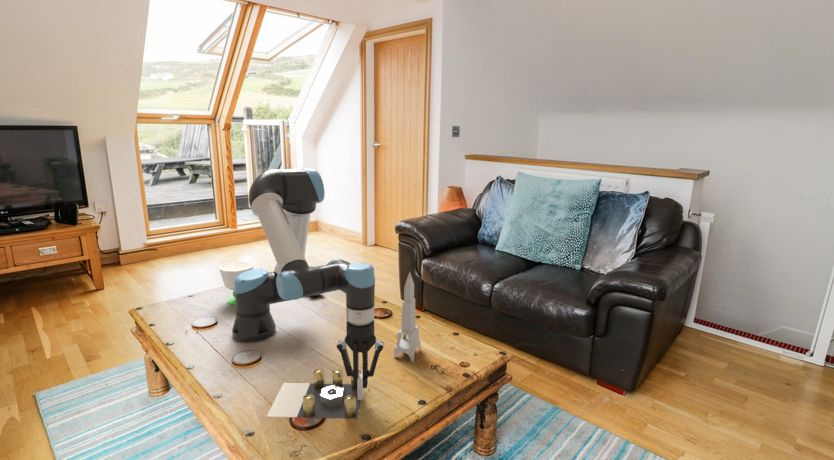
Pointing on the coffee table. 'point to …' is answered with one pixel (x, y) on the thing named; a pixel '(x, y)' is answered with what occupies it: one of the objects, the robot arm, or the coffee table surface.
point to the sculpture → (408, 323)
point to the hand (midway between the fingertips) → (360, 397)
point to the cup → (233, 274)
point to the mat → (292, 402)
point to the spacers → (319, 384)
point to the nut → (331, 396)
